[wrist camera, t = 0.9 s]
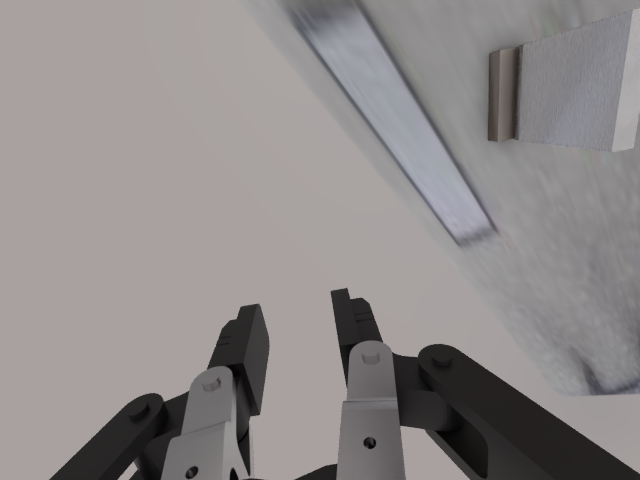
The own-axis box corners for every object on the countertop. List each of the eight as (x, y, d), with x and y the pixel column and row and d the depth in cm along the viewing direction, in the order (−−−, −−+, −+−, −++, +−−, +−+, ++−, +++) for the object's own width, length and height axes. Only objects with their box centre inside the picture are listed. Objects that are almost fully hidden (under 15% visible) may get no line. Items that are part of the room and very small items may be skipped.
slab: (510, 139, 36) (611, 152, 24) (514, 47, 33) (633, 9, 21) (525, 137, 36) (633, 148, 24) (530, 44, 33) (658, 4, 21)
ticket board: (488, 140, 38) (498, 141, 36) (489, 53, 35) (500, 49, 33) (603, 119, 38) (619, 119, 36) (615, 30, 35) (634, 25, 33)
